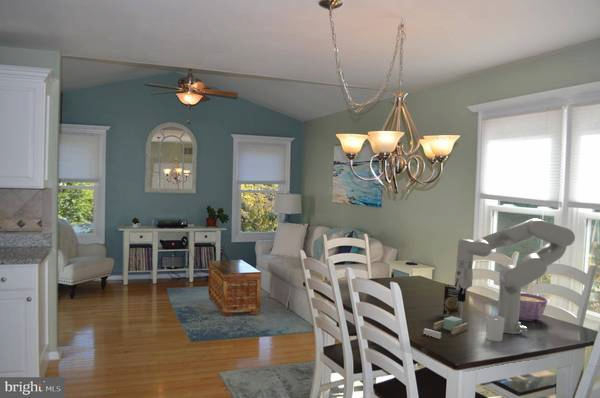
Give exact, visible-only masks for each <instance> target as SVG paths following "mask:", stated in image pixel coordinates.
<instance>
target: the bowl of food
mask: <svg viewBox="0 0 600 398" xmlns="http://www.w3.org/2000/svg"><path fill="white" fill-rule="evenodd" d="M547 304H548V299H547V298H546V297H544V296H541V295H538V294H532V293H523V292H521V297H520V311H519V321H520V320H521V321H526V322H533V321H534V320H537V319H540V318H541V317H542V316H543V314H544V312H545V310H546V307H547Z"/></svg>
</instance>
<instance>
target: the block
mask: <svg viewBox="0 0 600 398" xmlns="http://www.w3.org/2000/svg"><path fill="white" fill-rule="evenodd" d="M443 320H444V324H443V328H442V329H444V330H447V331H450V332H451V328H453V327H455V326H458V325H461V324H464V323H463V321H464V319H463V318H461V319H460V318H457V317H453V316H451V317H444V318H443Z"/></svg>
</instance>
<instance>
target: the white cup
mask: <svg viewBox="0 0 600 398" xmlns="http://www.w3.org/2000/svg"><path fill="white" fill-rule="evenodd" d="M485 317H486V318H485V319H486V320H485V335H486V337H485V338H486V340H489V341H491V342H501V341H503V338H504V337H503V335H504V333H503V330H504V322H505V318H503V317H501V316H498V315H493V314H489V315H488V314H487V315H486V316H485Z"/></svg>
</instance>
